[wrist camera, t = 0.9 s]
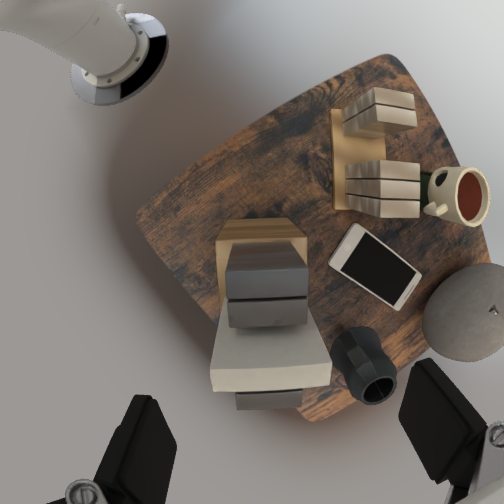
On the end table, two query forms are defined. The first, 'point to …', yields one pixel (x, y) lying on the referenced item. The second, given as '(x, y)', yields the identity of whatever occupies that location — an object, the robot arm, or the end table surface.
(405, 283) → the smartphone
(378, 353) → the mug
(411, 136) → the end table surface
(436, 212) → the character mug
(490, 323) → the grey oval stone
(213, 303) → the end table surface
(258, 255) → the wooden stand
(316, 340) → the grey flat block
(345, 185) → the grey-brown wooden block stand
